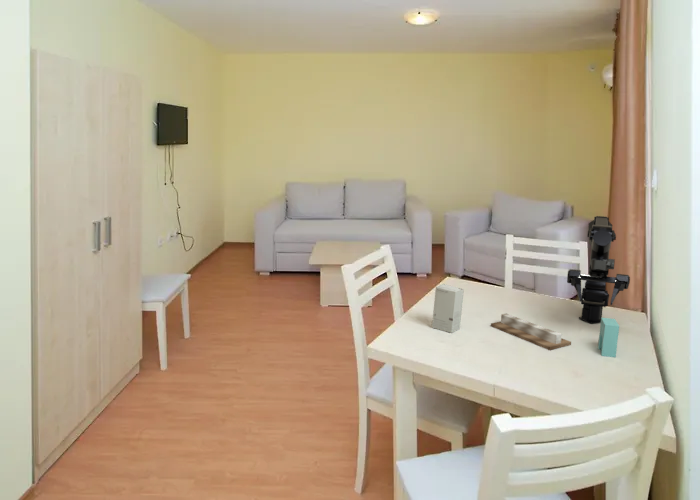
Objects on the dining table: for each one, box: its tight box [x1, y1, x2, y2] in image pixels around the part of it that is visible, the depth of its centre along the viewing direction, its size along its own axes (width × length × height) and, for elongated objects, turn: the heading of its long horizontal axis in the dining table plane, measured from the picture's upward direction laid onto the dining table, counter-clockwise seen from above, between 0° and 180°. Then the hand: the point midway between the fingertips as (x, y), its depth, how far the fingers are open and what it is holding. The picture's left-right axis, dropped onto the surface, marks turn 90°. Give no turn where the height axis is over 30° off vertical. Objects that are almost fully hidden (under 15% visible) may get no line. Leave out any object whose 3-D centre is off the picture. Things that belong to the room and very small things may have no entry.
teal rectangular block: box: [597, 317, 620, 358], centre depth 184 cm, size 7×4×10 cm, turn 166°
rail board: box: [490, 313, 572, 351], centre depth 199 cm, size 26×10×4 cm, turn 31°
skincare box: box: [431, 283, 465, 334], centre depth 203 cm, size 8×6×15 cm
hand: (595, 302), depth 191 cm, fingers open, 9 cm apart
